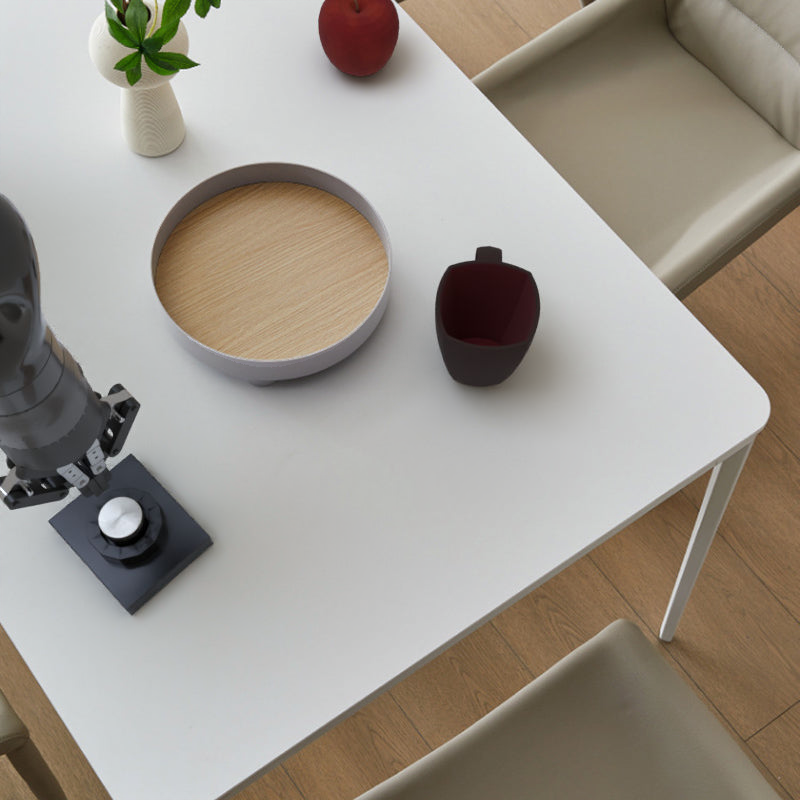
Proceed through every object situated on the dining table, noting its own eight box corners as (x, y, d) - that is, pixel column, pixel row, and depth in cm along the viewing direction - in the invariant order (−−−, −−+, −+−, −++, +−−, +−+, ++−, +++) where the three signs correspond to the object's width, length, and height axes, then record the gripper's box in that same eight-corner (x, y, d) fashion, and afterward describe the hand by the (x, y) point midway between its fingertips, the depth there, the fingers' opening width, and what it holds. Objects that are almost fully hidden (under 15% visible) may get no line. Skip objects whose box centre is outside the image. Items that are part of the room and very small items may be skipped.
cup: (427, 400, 105) (431, 345, 94) (436, 286, 111) (441, 221, 100) (523, 408, 104) (539, 354, 94) (527, 293, 110) (542, 229, 100)
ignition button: (94, 523, 95) (89, 516, 93) (128, 495, 96) (123, 488, 94) (121, 553, 94) (116, 546, 92) (155, 524, 95) (151, 517, 93)
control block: (54, 528, 98) (41, 514, 95) (135, 460, 102) (126, 445, 98) (131, 615, 95) (121, 605, 91) (213, 543, 98) (207, 530, 94)
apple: (410, 47, 125) (412, -18, 116) (380, 103, 121) (380, 40, 112) (339, 25, 127) (336, -41, 118) (308, 79, 123) (301, 16, 114)
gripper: (76, 305, 73) (131, 406, 89) (-82, 423, 69) (5, 507, 85) (141, 371, 71) (186, 463, 87) (-17, 497, 67) (59, 570, 82)
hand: (96, 485), depth 86 cm, fingers closed
